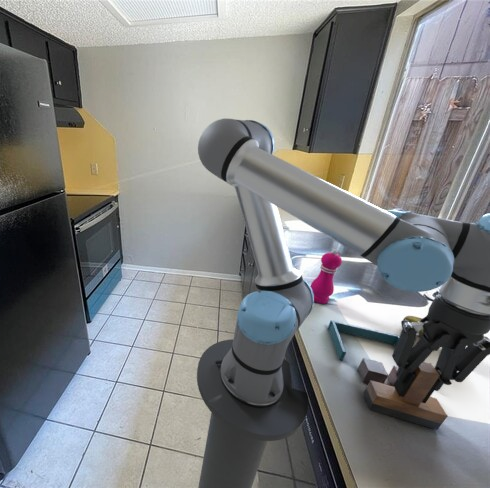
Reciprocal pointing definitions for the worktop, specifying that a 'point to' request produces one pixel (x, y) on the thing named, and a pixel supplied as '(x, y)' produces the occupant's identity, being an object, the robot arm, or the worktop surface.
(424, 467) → the worktop surface
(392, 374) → the mahogany block
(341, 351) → the teal u-shaped frame
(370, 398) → the wooden t-shaped block
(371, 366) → the walnut block
